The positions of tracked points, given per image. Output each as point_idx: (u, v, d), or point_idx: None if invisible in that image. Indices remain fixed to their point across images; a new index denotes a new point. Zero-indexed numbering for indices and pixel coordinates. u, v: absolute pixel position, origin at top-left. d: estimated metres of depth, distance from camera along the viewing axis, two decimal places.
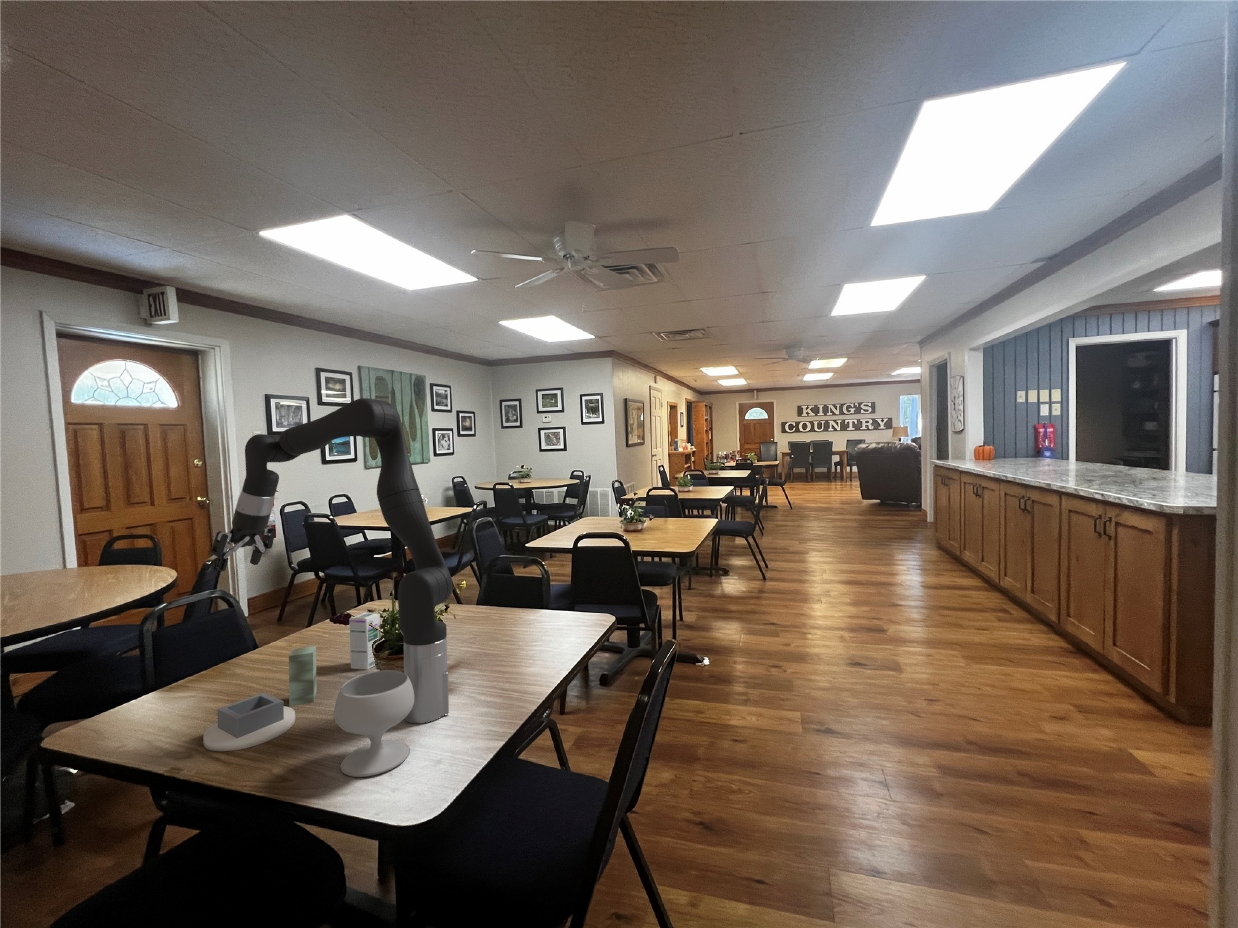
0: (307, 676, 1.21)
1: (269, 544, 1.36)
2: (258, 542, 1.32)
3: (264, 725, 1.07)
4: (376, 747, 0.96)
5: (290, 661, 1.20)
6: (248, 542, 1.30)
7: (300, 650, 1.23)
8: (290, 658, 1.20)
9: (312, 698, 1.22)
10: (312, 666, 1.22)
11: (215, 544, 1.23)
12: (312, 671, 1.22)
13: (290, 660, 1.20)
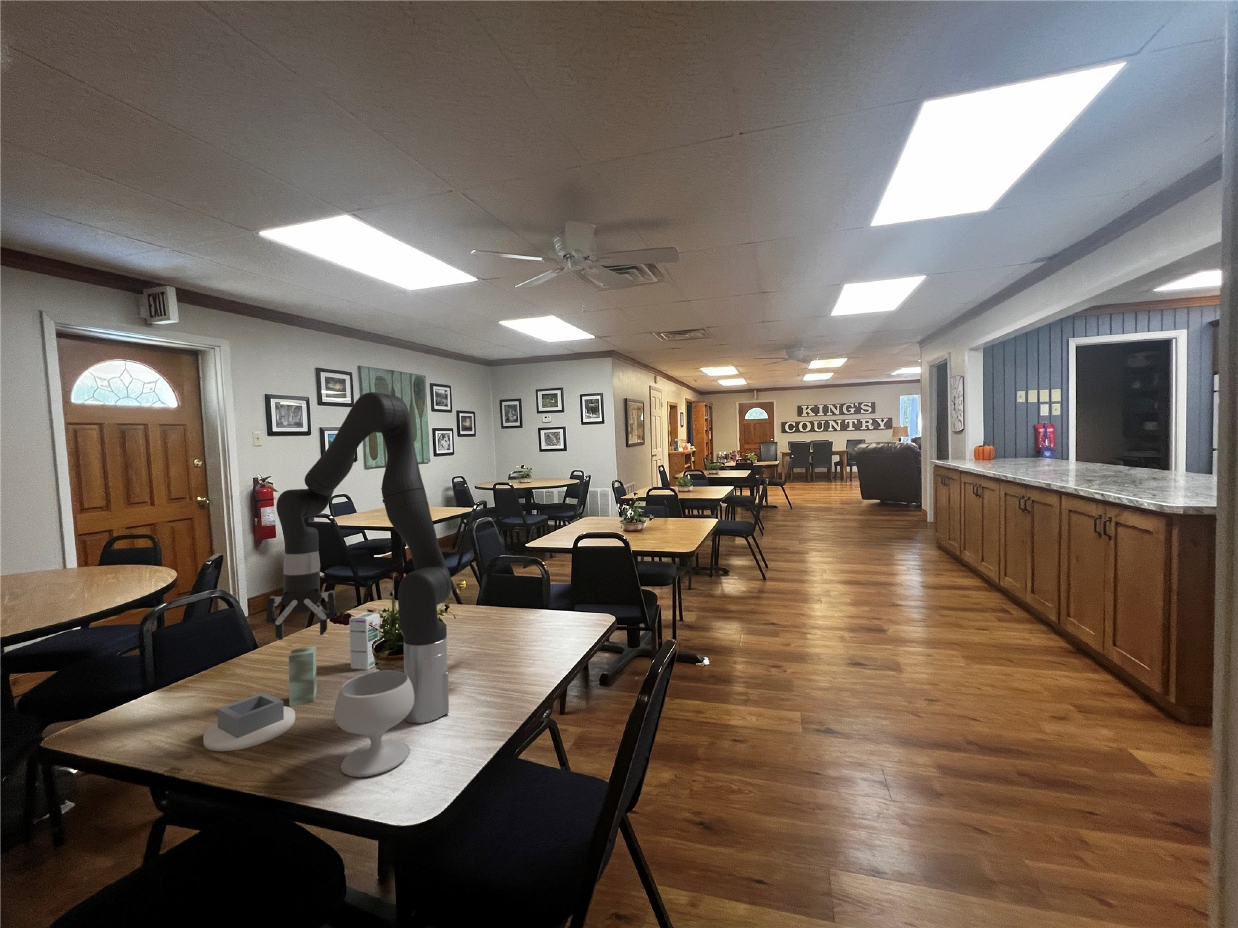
0: (307, 676, 1.21)
1: (330, 610, 1.25)
2: (312, 607, 1.23)
3: (264, 725, 1.07)
4: (376, 747, 0.96)
5: (290, 661, 1.20)
6: (301, 607, 1.22)
7: (300, 650, 1.23)
8: (290, 658, 1.20)
9: (312, 698, 1.22)
10: (312, 666, 1.22)
11: None
12: (312, 671, 1.22)
13: (290, 660, 1.20)
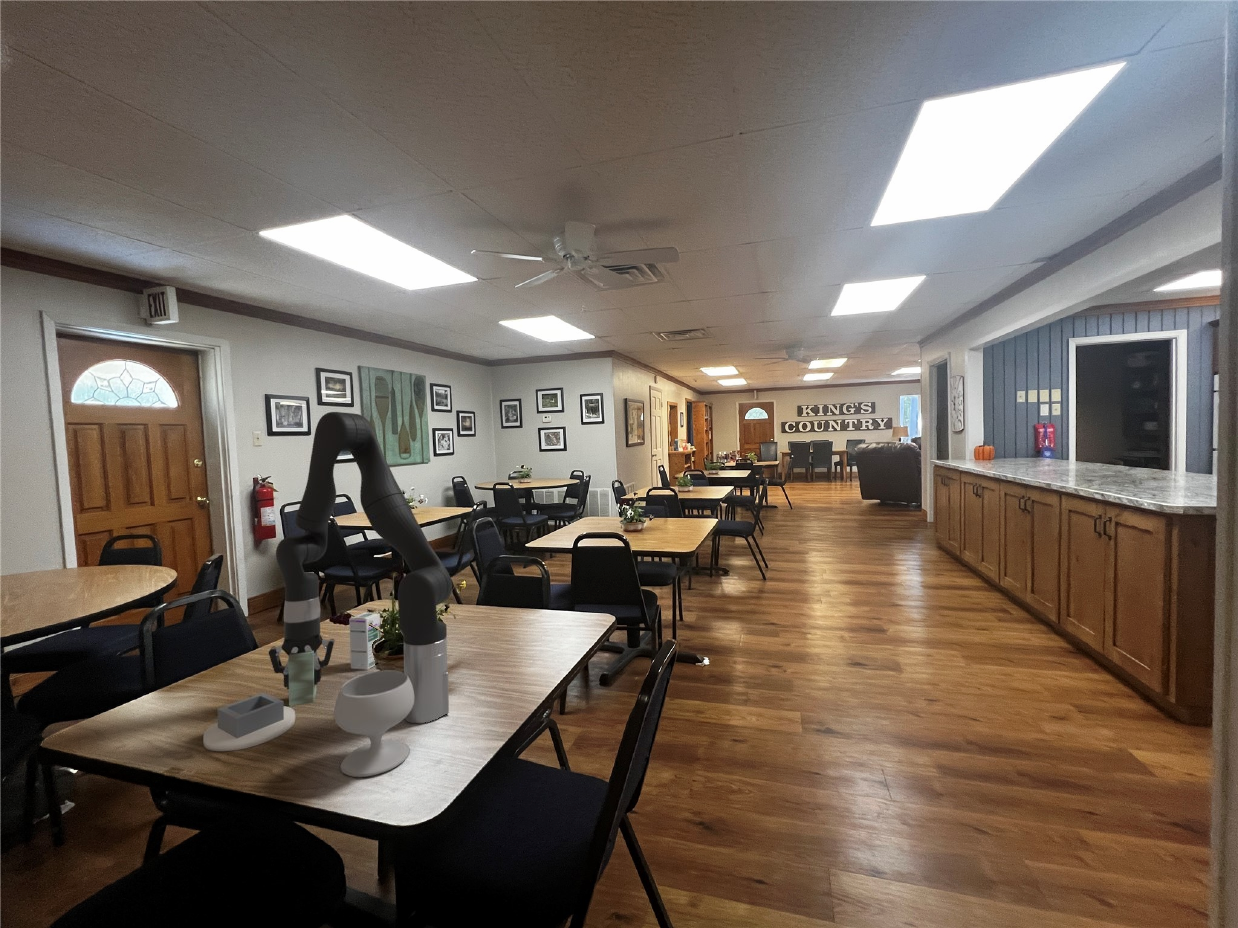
0: (307, 676, 1.21)
1: (325, 660, 1.24)
2: None
3: (264, 725, 1.07)
4: (376, 747, 0.96)
5: (290, 661, 1.20)
6: None
7: None
8: (290, 658, 1.20)
9: (312, 698, 1.22)
10: (312, 666, 1.22)
11: None
12: (312, 671, 1.22)
13: (290, 660, 1.20)
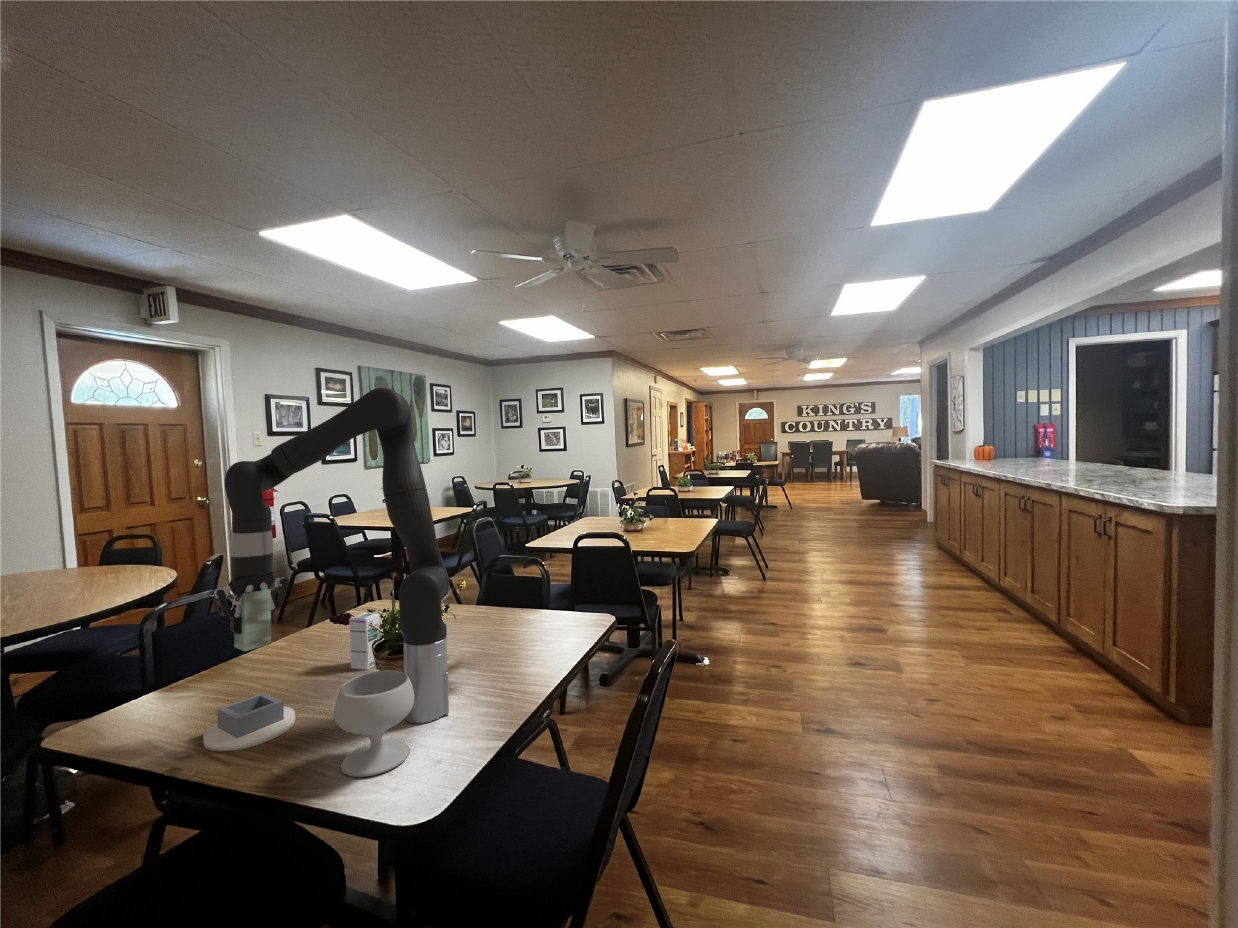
0: (264, 616, 1.10)
1: (280, 598, 1.13)
2: None
3: (264, 725, 1.07)
4: (376, 747, 0.96)
5: (246, 600, 1.07)
6: None
7: None
8: (246, 597, 1.07)
9: (269, 640, 1.10)
10: (269, 605, 1.11)
11: (218, 604, 1.05)
12: (269, 610, 1.10)
13: (246, 599, 1.07)
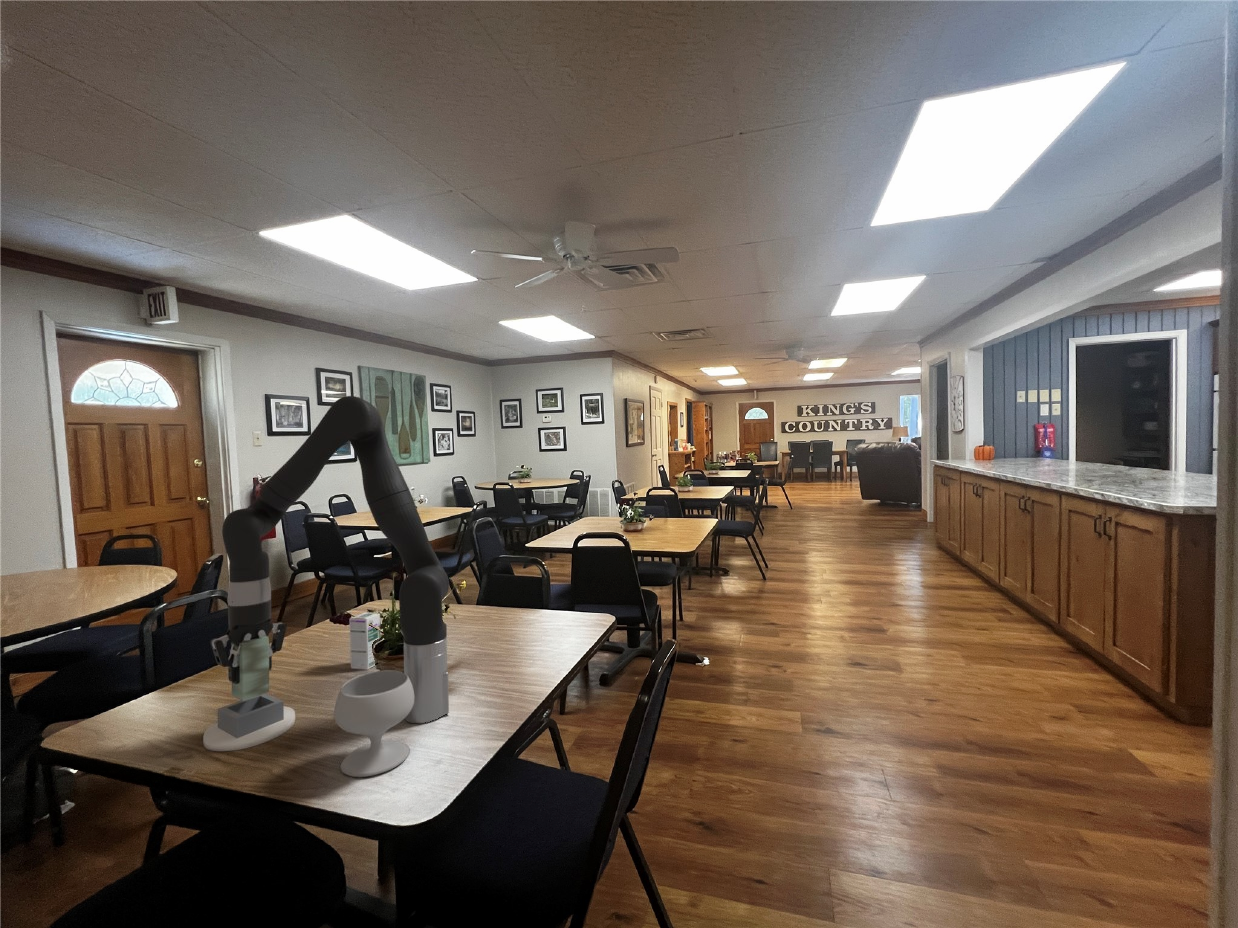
0: (263, 663, 1.09)
1: (278, 645, 1.13)
2: None
3: (264, 725, 1.07)
4: (376, 747, 0.96)
5: (244, 650, 1.06)
6: None
7: None
8: (244, 646, 1.06)
9: (268, 688, 1.10)
10: (267, 652, 1.10)
11: (215, 654, 1.04)
12: (267, 658, 1.10)
13: (244, 648, 1.06)
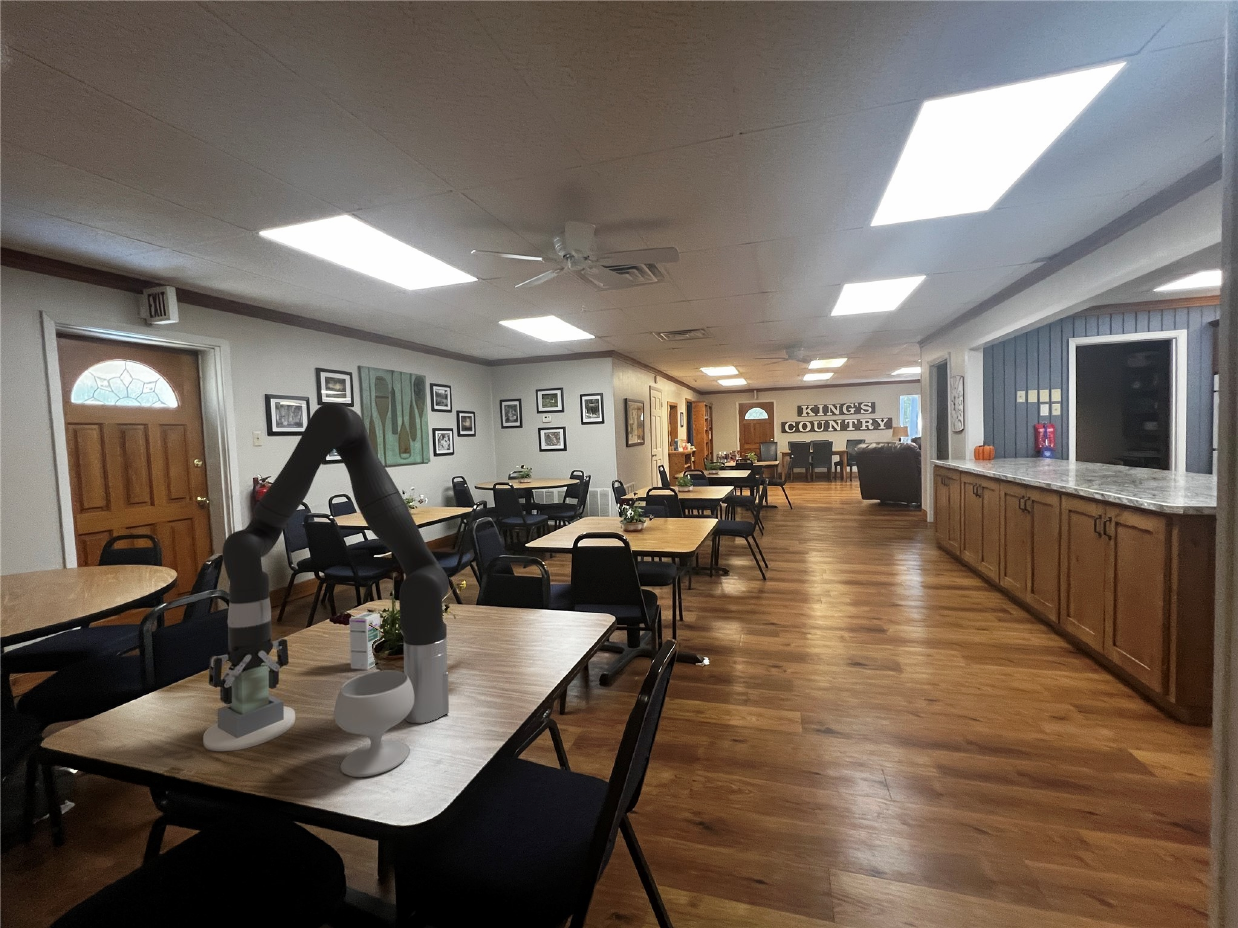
0: (262, 693, 1.09)
1: (284, 659, 1.14)
2: (266, 659, 1.10)
3: (264, 725, 1.07)
4: (376, 747, 0.96)
5: (244, 680, 1.06)
6: (253, 662, 1.08)
7: None
8: (244, 677, 1.06)
9: None
10: (267, 682, 1.10)
11: (211, 672, 1.03)
12: (267, 687, 1.10)
13: (244, 679, 1.06)
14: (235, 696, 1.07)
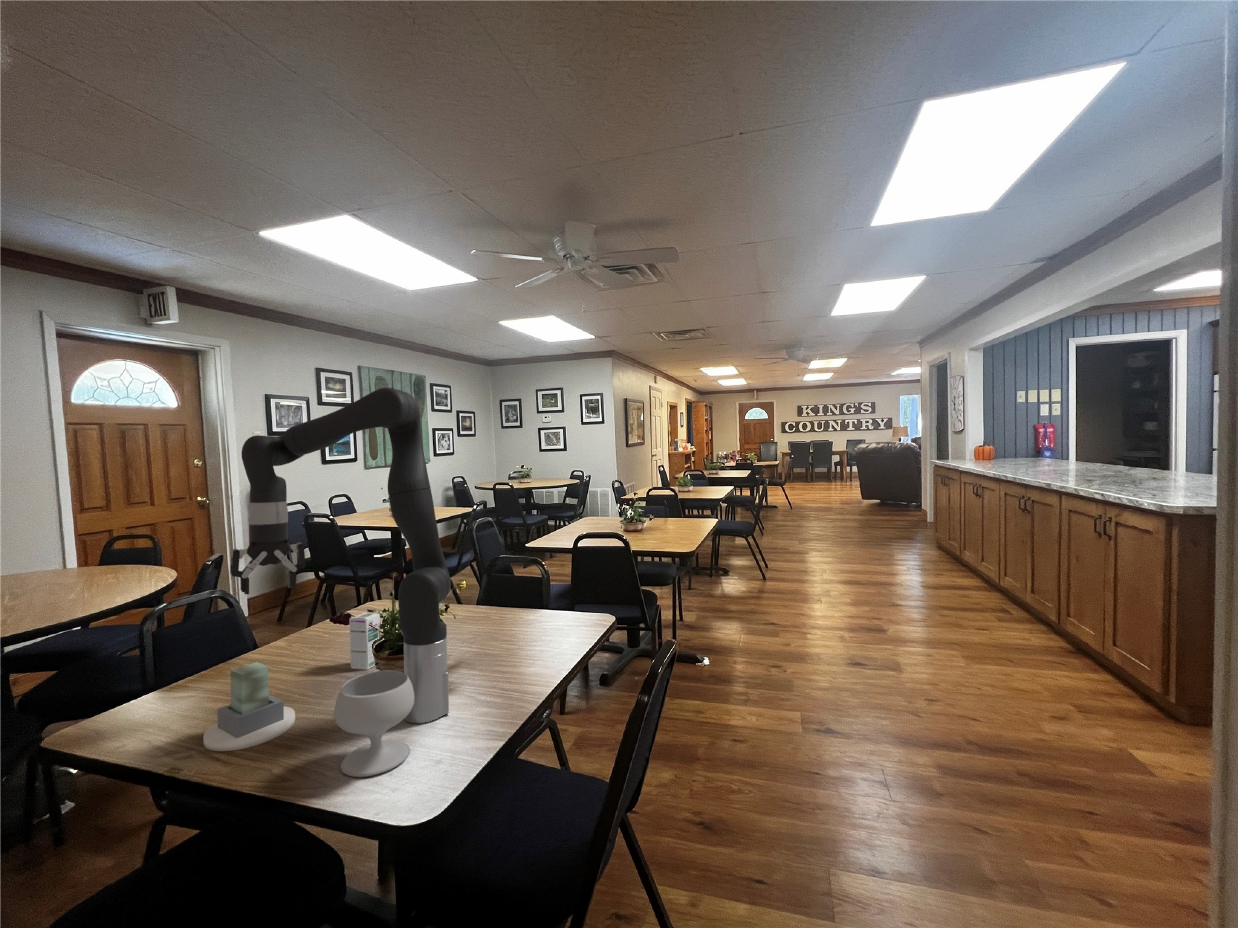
0: (262, 693, 1.09)
1: (301, 562, 1.21)
2: (282, 559, 1.18)
3: (264, 725, 1.07)
4: (376, 747, 0.96)
5: (243, 680, 1.06)
6: (270, 559, 1.17)
7: (246, 668, 1.09)
8: (243, 677, 1.06)
9: None
10: (267, 682, 1.10)
11: (231, 563, 1.13)
12: (267, 687, 1.10)
13: (244, 679, 1.06)
14: (235, 696, 1.07)
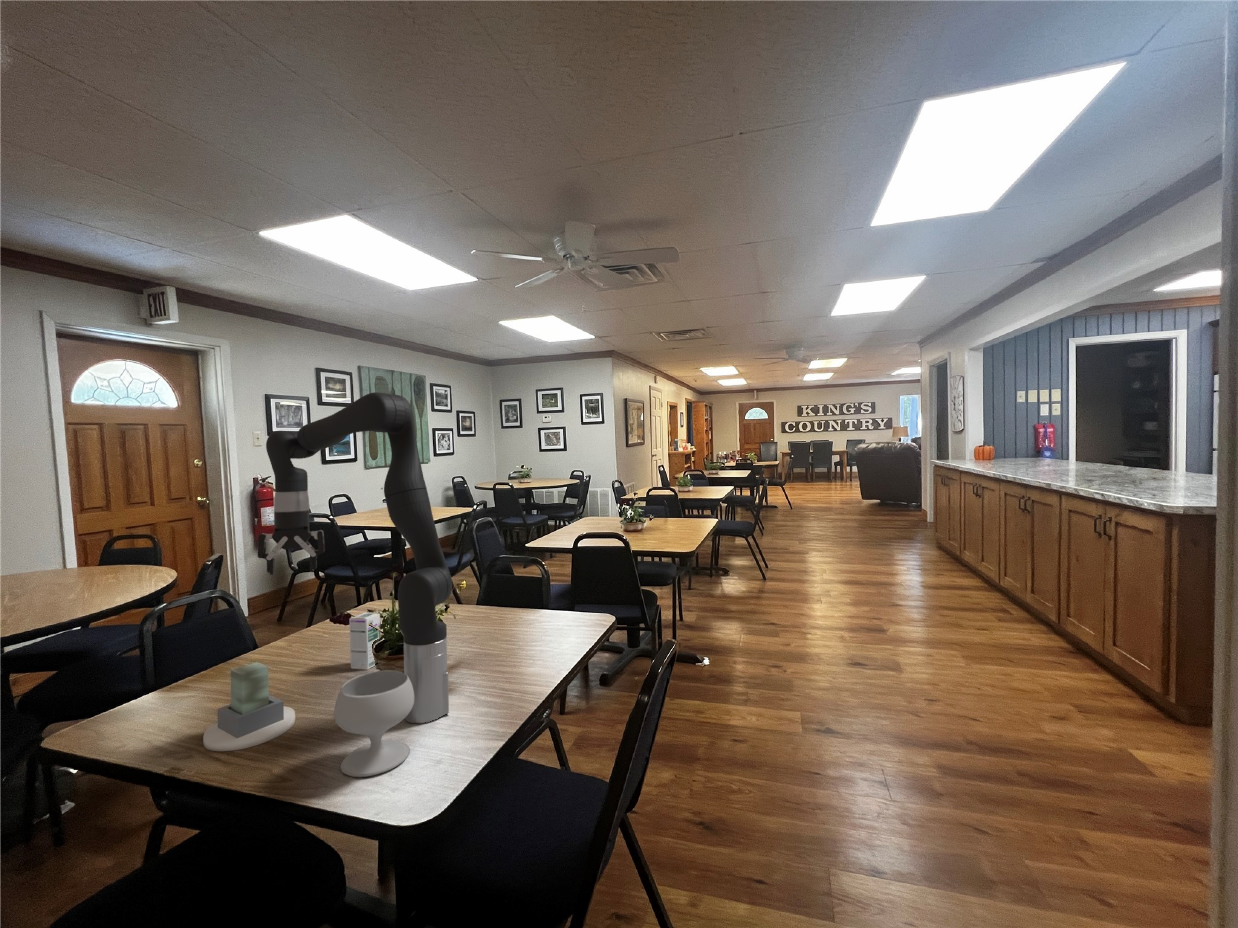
0: (262, 693, 1.09)
1: (319, 548, 1.30)
2: (302, 544, 1.28)
3: (264, 725, 1.07)
4: (376, 747, 0.96)
5: (243, 680, 1.06)
6: (291, 544, 1.27)
7: (246, 668, 1.09)
8: (243, 677, 1.06)
9: None
10: (267, 682, 1.10)
11: None
12: (267, 687, 1.10)
13: (244, 679, 1.06)
14: (235, 696, 1.07)
